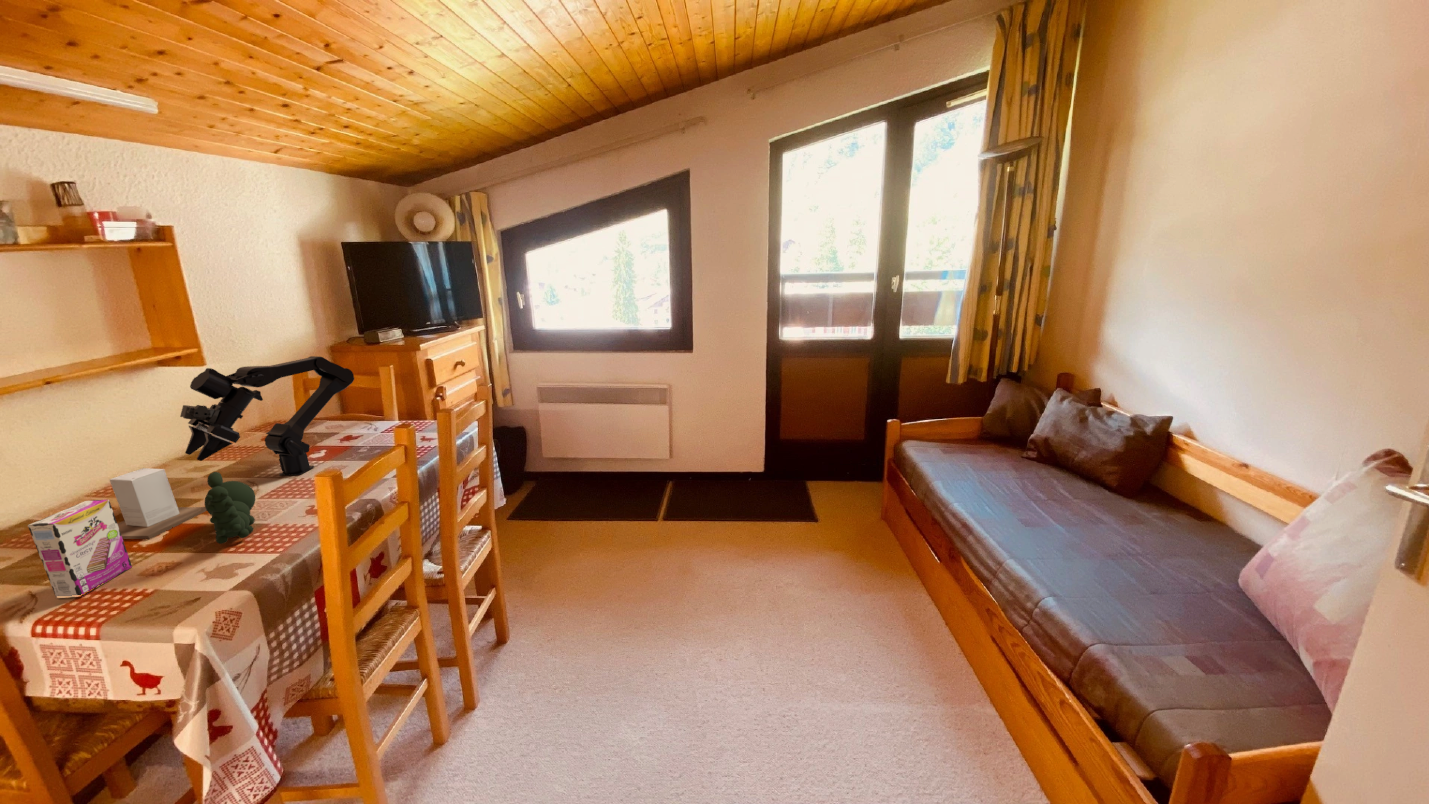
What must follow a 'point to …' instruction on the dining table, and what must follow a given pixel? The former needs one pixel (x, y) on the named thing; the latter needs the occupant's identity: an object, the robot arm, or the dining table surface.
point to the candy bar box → (80, 547)
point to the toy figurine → (229, 507)
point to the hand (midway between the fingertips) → (192, 457)
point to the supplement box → (144, 497)
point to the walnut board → (159, 524)
